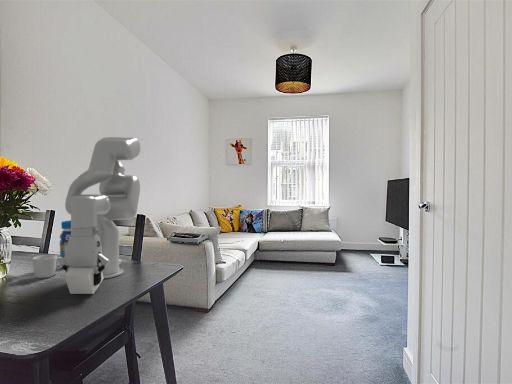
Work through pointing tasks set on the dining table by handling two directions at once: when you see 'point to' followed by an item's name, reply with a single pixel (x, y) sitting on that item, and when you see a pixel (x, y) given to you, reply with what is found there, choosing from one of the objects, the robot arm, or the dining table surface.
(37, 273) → the cup
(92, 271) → the white cube
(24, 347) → the dining table surface
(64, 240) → the beverage bottle
